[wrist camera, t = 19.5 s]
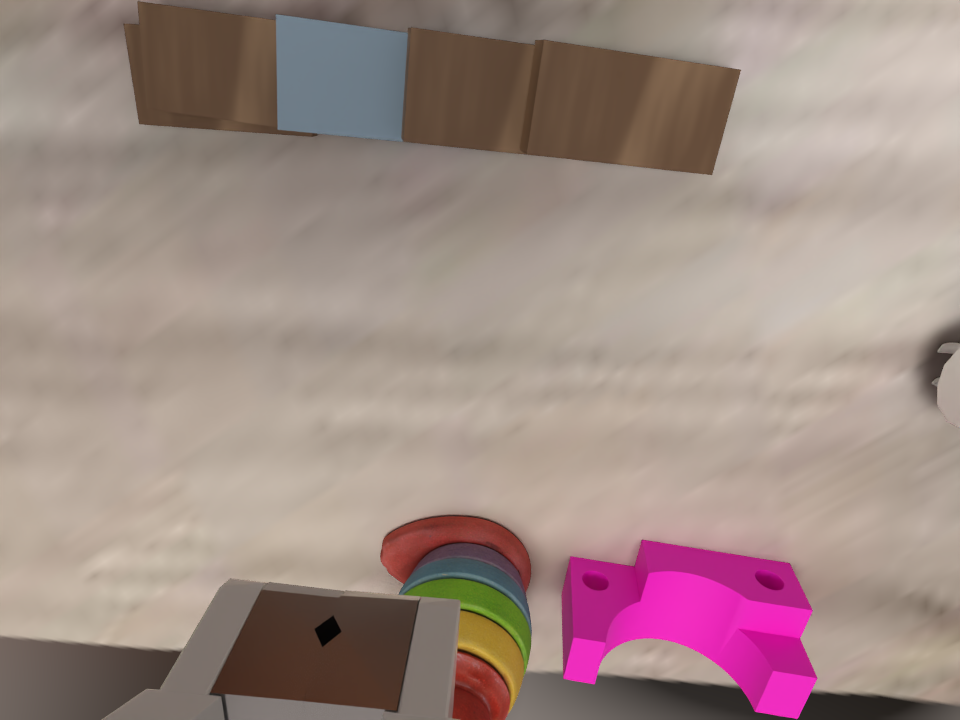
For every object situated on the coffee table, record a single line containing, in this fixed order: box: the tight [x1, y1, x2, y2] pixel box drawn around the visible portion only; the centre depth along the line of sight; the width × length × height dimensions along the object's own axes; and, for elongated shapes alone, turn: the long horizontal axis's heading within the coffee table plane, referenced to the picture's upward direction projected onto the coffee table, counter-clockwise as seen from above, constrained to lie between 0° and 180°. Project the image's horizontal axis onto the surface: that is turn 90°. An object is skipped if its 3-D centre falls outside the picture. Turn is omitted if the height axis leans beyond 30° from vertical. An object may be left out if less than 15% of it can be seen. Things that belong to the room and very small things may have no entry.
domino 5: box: [520, 40, 741, 175], centre depth 31 cm, size 2×5×10 cm
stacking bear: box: [380, 516, 532, 720], centre depth 39 cm, size 11×10×18 cm
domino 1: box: [138, 1, 278, 127], centre depth 33 cm, size 2×5×10 cm
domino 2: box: [124, 24, 317, 137], centre depth 35 cm, size 2×5×10 cm
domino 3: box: [276, 14, 421, 144], centre depth 32 cm, size 2×5×10 cm
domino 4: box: [401, 27, 557, 158], centre depth 32 cm, size 2×5×10 cm
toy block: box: [562, 540, 817, 719], centre depth 43 cm, size 15×6×8 cm, turn 83°
